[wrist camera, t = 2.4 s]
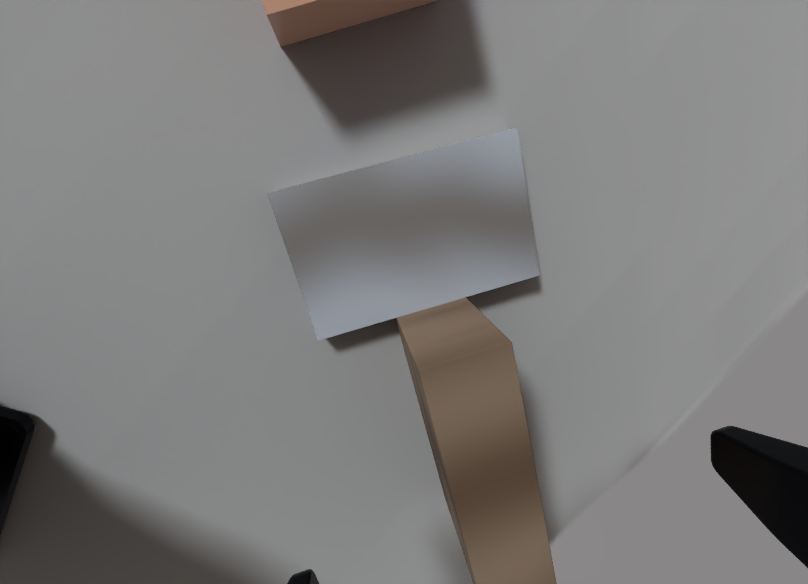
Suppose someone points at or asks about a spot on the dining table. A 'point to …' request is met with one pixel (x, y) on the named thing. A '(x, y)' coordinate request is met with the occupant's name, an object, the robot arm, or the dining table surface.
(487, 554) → the turner
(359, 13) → the salmon pink box
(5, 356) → the dining table surface
